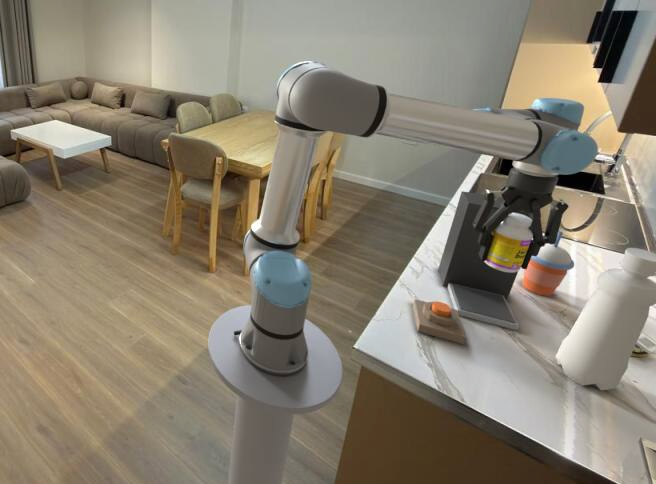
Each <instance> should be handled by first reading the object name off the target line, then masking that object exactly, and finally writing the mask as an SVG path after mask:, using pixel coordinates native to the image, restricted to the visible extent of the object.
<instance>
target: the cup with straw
mask: <svg viewBox="0 0 656 484" xmlns="http://www.w3.org/2000/svg"><path fill="white" fill-rule="evenodd" d="M563 234H564V232H562V231H561V230H559V231H558V235H557V239H556V243H555V244H552V245H551V244H545V246H543V247H541V248H540V251H539V253H538V255H537V256H532V257H531V259H530V262H529V264H528V267H527V269H523V278H522V283H521V284H522V286H523V287H524V288H525V289H526V290H527V291H530V292H532V293H533V294H536V295H539V296H544V297H550V296H552V295H553V294H554V293H555V291H556V290H557V288H558V287H560V285H561V284H562V282H563V281H564V279H565V277H566V275H567V274H568V271H569V270H572V269H573V268H574V267H575V261H574V259H572V256H571V255H570V253H569V252H568V250H566V249H565V248H563V247H562V246H560V245H559V244H560V241H561V239H562V236H563Z"/></svg>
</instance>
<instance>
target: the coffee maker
mask: <svg viewBox="0 0 656 484" xmlns="http://www.w3.org/2000/svg"><path fill="white" fill-rule="evenodd" d="M484 199H485V194H484V193H475V192H468V191H461V193H460V195H459V199H458V202H457V204H456V205H457V206H456V209H455V211H454V216H453V219H452V223H451V225H450V229H449V232H448V234H447V240H446V242H445V246H444V248H443V252H442V256H441V259H440V262H439V266H438V268H437V272H438V275H439V279H440V281H441V284H442V287H446V288H447V290H448V294H449V297H450V300H451V303H452V307H453V309H456V310H457V312H458V315H459V317H460V316H461V317H464V318H467V319H472V320H475V321H479V322H484V323H488V324H492V325H495V326H498V327H502V328H506V329H511V330H513V331H514V330H515V331H518V329H519V328H520V324H519V322H518V320H517V318H516V316H515V314H514V312H513V311H512V309H511V307H510V305H509V302H508V300H509V297H510V295H511V291H512V289H513V286H514V284H515V281H516V279H517V276H518V273H519V271H518V272H513V273H510V272H504V271H500V270H497V269H495V268H493V267H491V266H489V265H487V264H486V263H485V262H484V261H483V260H481V258H480V256H479V251H480V248H481V246H480V245H479V243H478V239H479V236H480V233H481V232H480V231H476V230H475V228H474V226H473V222H474V220H475V218H476V215H477V213H478V211H479V209H480V207H481V205H482V203H483V201H484ZM504 201H505V200H504V199H503V197H502V196H500V197H499V198H498V200H496V201H494V205H493V207H492V209H491V211H490V213H489V215H488V217H487V219H486V221H485V223H486V222H487V221H488V220H489V219H490V218H491V216H492V215H493V214H494V213H495V212H496V211H497V210H498V209H499V208H500V206H501V204H502V203H503V202H504ZM513 213H518V214H522V215H525V216H527V217H529V213H528V212H524V211H515V210H514V211H513ZM529 218H530V217H529ZM485 223H484V224H485ZM528 229H530V230H531V226H530V227H528ZM531 232H532V231H531ZM491 234H492V233H491Z"/></svg>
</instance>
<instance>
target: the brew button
mask: <svg viewBox="0 0 656 484" xmlns="http://www.w3.org/2000/svg"><path fill="white" fill-rule="evenodd" d="M433 302H434V303H433V305H432V308H431V310H432V312H434V313H435V314H437V315H439V316H442V317H449V315H450V312H451V308H452V307H451V306H449V305H448V304H447V303H444V302H441V301H433Z"/></svg>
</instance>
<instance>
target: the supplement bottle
mask: <svg viewBox="0 0 656 484" xmlns="http://www.w3.org/2000/svg"><path fill="white" fill-rule="evenodd" d="M531 223H532V219H531V218H529V217H527V216H525V215H522V214H518V213H511V214H509V215H508V216H507V217H506V218H505V219H504V220H503V221H502V222H501V223H500V224H499V226H498V227H497V228H496V229H495V230H494V231H493V232H492V235H493V237H494V238H493V241H492V243H491V246H490V249H489V252H488V255H487V258H486V261H484V262H485V263H486V264H487V265H489V266H491V267H493V268H495V269H497V270H500V271H504V272H510V273H513V272H518V273H519V271H520V270H521V269H522V268H521V266H522V263H523V261H524V258H525V255H526V253H527V250H528V248H529V245H530V243H531V240H533V238H532V237H533V233H532V232H531V230H530V229H528V227H530V226H531Z"/></svg>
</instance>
